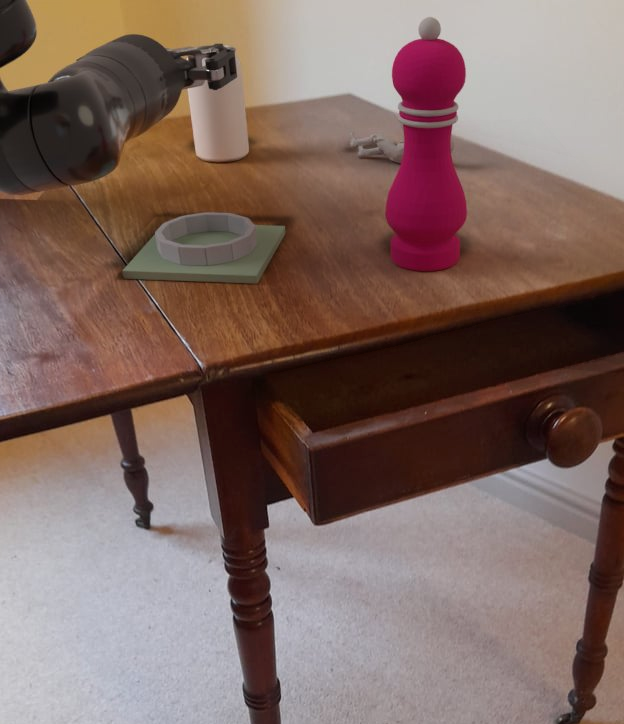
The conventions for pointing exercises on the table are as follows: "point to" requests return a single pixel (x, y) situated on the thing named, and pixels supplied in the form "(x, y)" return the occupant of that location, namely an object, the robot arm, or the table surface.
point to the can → (219, 119)
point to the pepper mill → (427, 154)
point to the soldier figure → (381, 145)
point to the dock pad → (210, 273)
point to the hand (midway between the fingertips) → (180, 54)
